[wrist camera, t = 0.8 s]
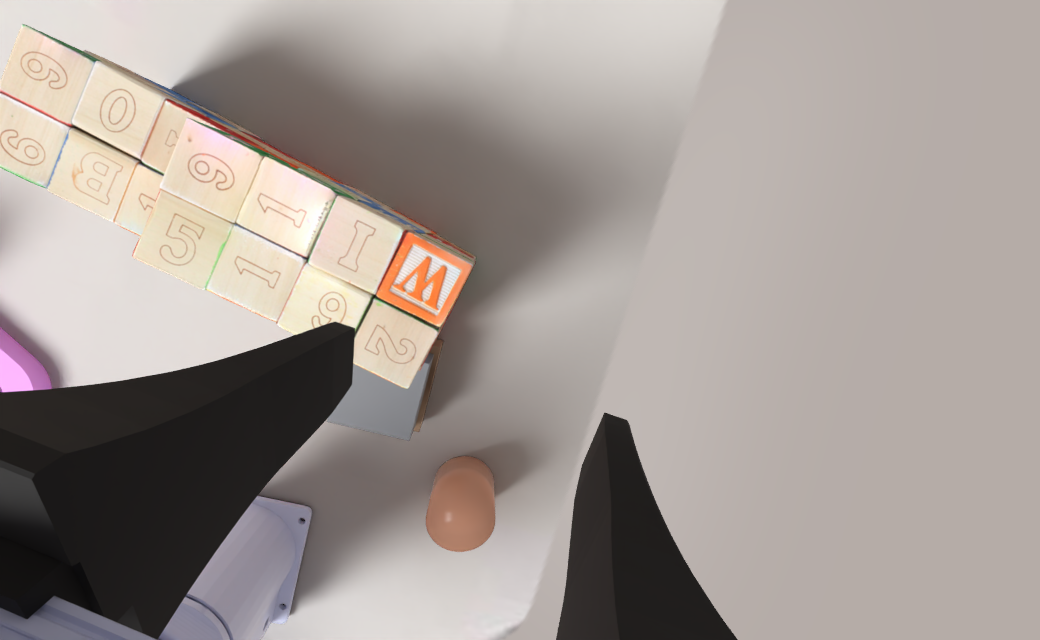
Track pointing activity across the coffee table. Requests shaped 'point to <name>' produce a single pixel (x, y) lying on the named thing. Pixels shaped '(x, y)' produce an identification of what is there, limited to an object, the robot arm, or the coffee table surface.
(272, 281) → the stack of blocks
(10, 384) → the bracket
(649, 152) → the coffee table surface
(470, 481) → the terracotta cylinder
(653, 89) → the coffee table surface
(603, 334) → the coffee table surface
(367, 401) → the tower top
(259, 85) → the coffee table surface
